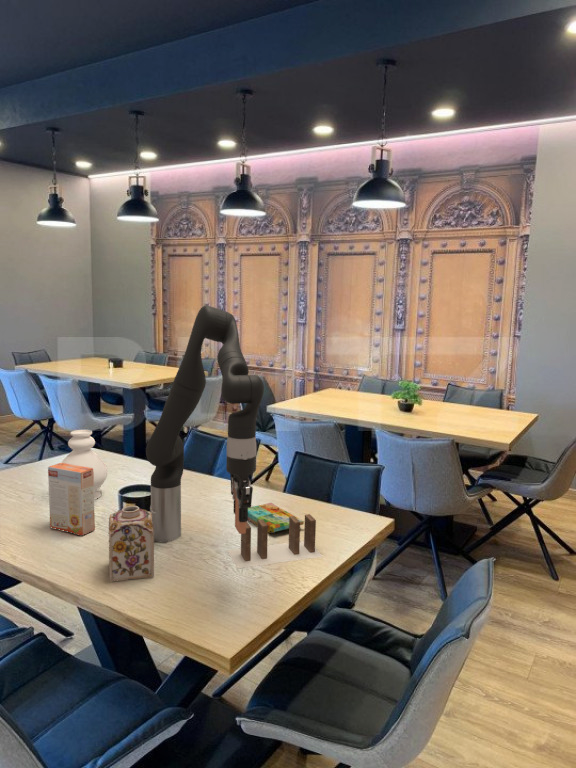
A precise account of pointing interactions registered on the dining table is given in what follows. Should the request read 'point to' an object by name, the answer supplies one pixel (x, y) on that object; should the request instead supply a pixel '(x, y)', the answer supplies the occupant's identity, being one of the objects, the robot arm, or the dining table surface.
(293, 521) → the domino
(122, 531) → the decorative jar
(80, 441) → the decorative vase
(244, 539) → the domino
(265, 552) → the domino
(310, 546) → the domino
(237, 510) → the domino
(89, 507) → the cracker box
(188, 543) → the dining table surface
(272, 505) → the puzzle game
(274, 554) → the mat
